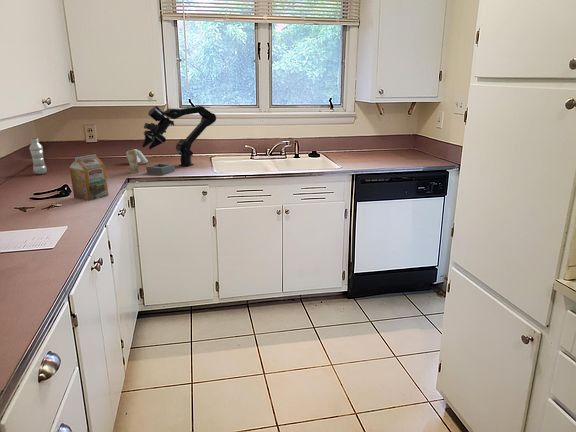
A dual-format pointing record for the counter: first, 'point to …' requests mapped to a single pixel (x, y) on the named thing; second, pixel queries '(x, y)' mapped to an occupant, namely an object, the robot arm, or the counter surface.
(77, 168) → the milk carton
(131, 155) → the birch peg
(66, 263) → the counter surface
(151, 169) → the frame
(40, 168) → the plastic bottle
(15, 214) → the counter surface
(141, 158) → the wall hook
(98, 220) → the counter surface
